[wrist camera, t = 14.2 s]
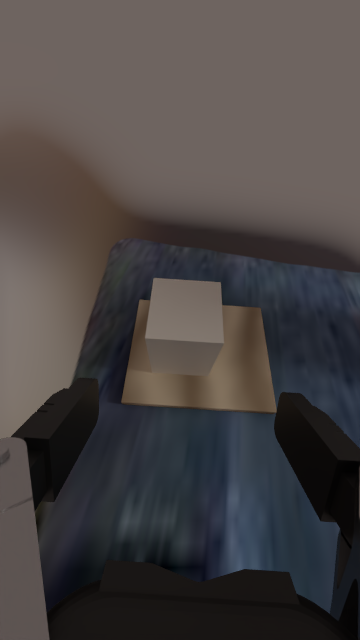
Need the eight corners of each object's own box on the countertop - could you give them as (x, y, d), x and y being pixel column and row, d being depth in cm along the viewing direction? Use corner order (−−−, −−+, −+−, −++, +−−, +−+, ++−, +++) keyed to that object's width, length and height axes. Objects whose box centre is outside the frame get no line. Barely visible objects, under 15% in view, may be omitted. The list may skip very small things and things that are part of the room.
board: (258, 311, 31) (260, 307, 30) (272, 413, 24) (276, 412, 24) (140, 304, 31) (139, 299, 30) (123, 404, 24) (121, 402, 23)
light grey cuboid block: (207, 327, 28) (220, 282, 21) (208, 376, 25) (223, 343, 18) (157, 324, 28) (153, 277, 21) (152, 372, 25) (144, 338, 18)
